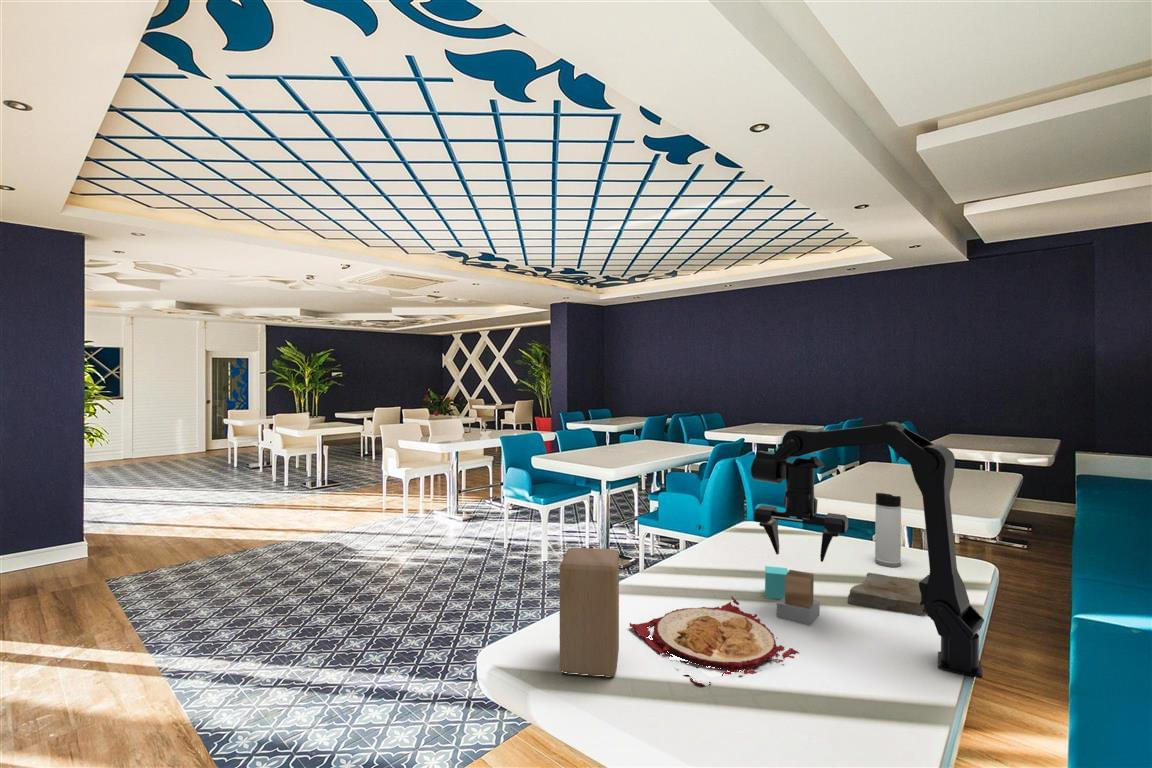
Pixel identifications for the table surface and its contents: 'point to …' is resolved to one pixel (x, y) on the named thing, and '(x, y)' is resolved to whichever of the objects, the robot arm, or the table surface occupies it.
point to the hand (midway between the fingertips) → (799, 557)
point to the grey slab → (798, 612)
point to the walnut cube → (799, 588)
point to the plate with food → (714, 637)
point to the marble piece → (888, 594)
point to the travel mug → (888, 530)
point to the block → (589, 611)
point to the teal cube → (775, 582)
